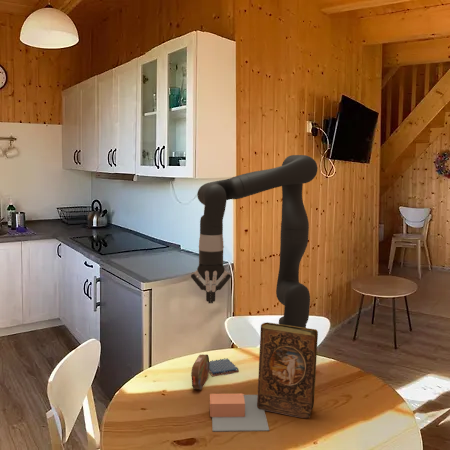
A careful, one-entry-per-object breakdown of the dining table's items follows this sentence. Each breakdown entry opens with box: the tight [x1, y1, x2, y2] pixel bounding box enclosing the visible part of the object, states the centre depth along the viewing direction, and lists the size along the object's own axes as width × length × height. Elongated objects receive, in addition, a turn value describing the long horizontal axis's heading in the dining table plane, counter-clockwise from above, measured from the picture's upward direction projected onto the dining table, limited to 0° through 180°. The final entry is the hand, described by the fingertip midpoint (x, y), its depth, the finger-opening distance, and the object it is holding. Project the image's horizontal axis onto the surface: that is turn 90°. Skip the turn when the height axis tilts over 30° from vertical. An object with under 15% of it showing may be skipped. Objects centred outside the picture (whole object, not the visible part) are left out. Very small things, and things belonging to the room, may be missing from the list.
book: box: [257, 322, 319, 419], centre depth 142 cm, size 16×6×25 cm, turn 71°
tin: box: [190, 353, 210, 391], centre depth 160 cm, size 15×3×8 cm, turn 168°
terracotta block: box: [209, 393, 245, 418], centre depth 142 cm, size 4×6×10 cm
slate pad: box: [211, 394, 270, 432], centre depth 142 cm, size 16×20×1 cm
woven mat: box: [209, 358, 240, 377], centre depth 171 cm, size 10×11×2 cm
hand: (210, 302), depth 152 cm, fingers closed
